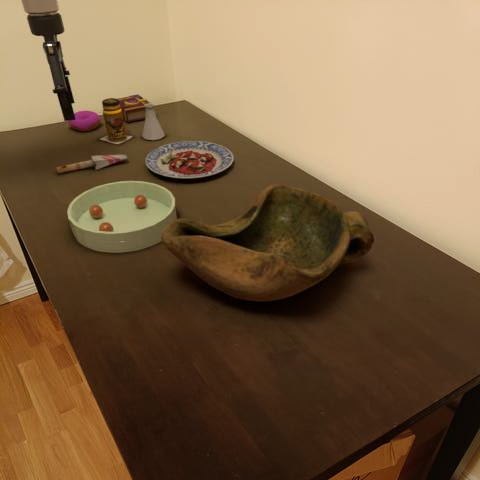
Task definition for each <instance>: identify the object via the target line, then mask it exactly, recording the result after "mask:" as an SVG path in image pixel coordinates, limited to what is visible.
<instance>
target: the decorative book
mask: <svg viewBox="0 0 480 480" xmlns="http://www.w3.org/2000/svg"><path fill="white" fill-rule="evenodd" d="M117 99H118V100H119V104H120V108H121V109H122V112H123V119H124V122H126V123H131V122H136V121H142V120H145V119H146V109H145V107H144V105H145V104H148V103H151V104H153V103H152V102H151V101H148V99H147V98H144V97H142V95H140V94H139V93H138V94H132V95H128V96H125V97H120V98H119V97H117Z"/></svg>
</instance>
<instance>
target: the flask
mask: <svg viewBox="0 0 480 480" xmlns="http://www.w3.org/2000/svg"><path fill="white" fill-rule="evenodd" d="M151 103H152V102H151ZM151 103H150V102H149V103H148V104H145V105H144V107H145V109H146V119H144V124H143V129H142V133H141V134H142V135H141V137H142V138H143V139H145V140H148V141H156V140H160V139H163V138H164V137H165V136H166V134H165V131H164V130H163V128H162V126H161V124H160V122H159V120H158V118H157V115H156V111H155V107H156V104H155V103H152V104H151Z"/></svg>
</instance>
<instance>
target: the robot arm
mask: <svg viewBox="0 0 480 480" xmlns="http://www.w3.org/2000/svg"><path fill="white" fill-rule="evenodd" d="M21 4H22V7H23V10H24V12H25V13H26V14H27V17H26V20H27V23H28V27H29V30H30V33H31V34H32V35H33V36H36V37H43V40H44V41H43V42H42V49H43V52H44V54H45V57H46V62H47V64H48V66H49V70H50V74H51V78H52V82H53V87H54V89H53V88H52V93H53V94H56V97H57V99H58V103H59V107H60V109H61V113H62V118H63V121H64V122H68V121H70V120H76V118H75V115H74V113H75V111H74V108H73V104H76V102H75V97H74V95H73V91H72V87H71V83H70V79H69V76H71V73H70V70H67V67H66V64H65V61H64V54H63V48H62V44H61V43H62V42H61V41H60V40H59V39H58V35H62V34H63V33H64V32H65V26H64V22H63V18H62V15H61V13H59V12H58V11H59V10H60V7H59V3H58V0H21Z"/></svg>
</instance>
